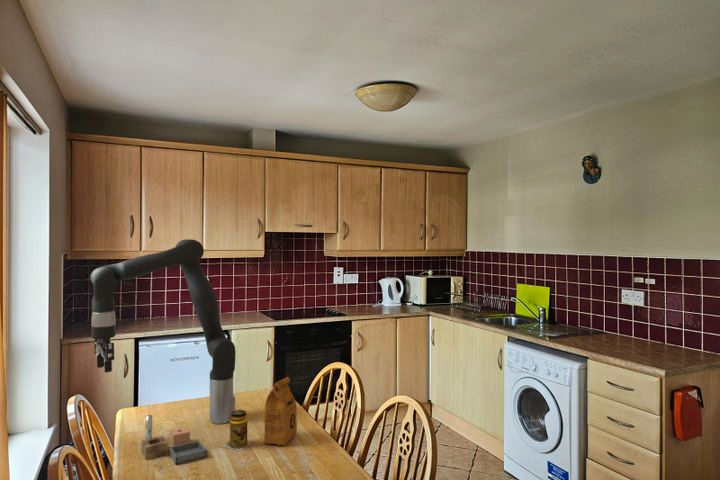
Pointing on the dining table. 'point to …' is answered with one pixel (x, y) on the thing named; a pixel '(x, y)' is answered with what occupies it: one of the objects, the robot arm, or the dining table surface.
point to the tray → (187, 452)
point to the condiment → (238, 431)
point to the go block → (154, 447)
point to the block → (179, 436)
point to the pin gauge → (148, 426)
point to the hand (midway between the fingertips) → (104, 369)
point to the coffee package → (280, 414)
